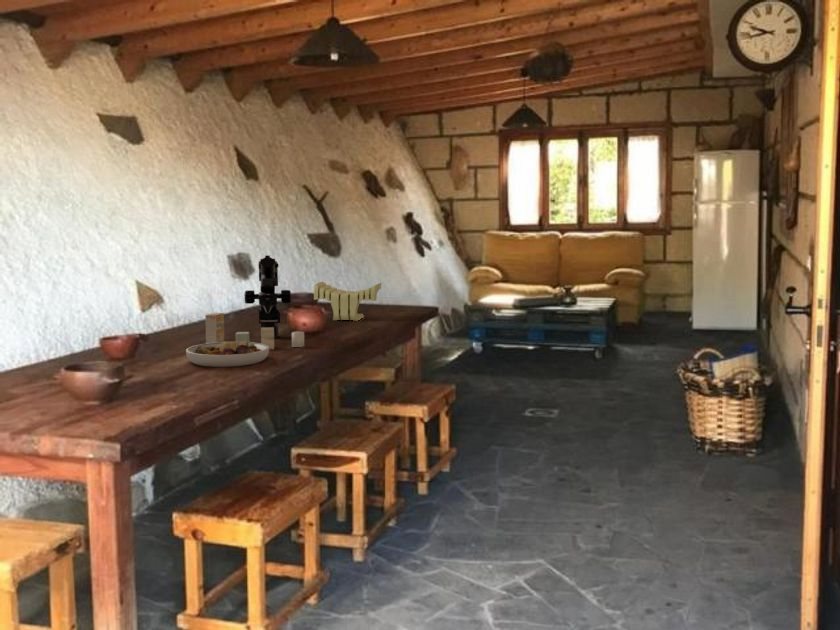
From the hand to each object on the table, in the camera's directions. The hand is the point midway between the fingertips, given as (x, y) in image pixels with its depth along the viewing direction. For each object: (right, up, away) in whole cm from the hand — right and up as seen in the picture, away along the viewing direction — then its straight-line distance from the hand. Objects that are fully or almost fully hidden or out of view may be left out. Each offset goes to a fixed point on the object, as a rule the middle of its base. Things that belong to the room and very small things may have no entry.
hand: (267, 313), depth 369 cm
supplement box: (-21, -13, +1) cm, 25 cm away
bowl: (-9, -18, -33) cm, 38 cm away
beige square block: (+13, -14, -2) cm, 19 cm away
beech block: (+1, -14, -5) cm, 15 cm away
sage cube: (-11, -13, +3) cm, 17 cm away
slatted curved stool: (+26, -3, +79) cm, 83 cm away
